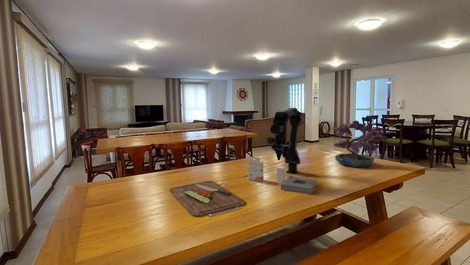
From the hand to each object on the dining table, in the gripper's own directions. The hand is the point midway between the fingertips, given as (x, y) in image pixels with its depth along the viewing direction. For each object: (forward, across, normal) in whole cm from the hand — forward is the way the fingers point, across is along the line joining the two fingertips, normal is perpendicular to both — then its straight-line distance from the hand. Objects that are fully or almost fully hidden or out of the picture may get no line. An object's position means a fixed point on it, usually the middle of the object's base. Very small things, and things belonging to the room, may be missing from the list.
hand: (281, 158), depth 151 cm
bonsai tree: (+12, -59, +39) cm, 71 cm away
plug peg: (+13, 0, 0) cm, 13 cm away
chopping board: (+15, +41, -26) cm, 51 cm away
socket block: (+13, +7, +13) cm, 20 cm away
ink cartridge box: (+14, +5, -14) cm, 20 cm away
